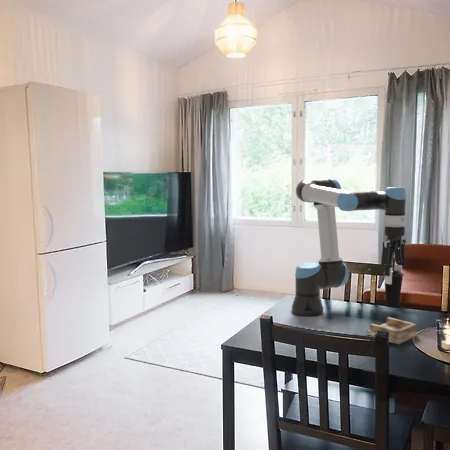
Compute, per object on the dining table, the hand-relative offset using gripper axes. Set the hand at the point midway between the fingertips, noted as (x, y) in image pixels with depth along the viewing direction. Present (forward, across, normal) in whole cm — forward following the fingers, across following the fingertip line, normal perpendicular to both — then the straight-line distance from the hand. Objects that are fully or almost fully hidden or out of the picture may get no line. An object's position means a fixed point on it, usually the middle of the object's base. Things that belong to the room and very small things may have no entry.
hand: (393, 282), depth 183 cm
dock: (+22, 0, 0) cm, 22 cm away
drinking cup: (+10, 0, 0) cm, 10 cm away
